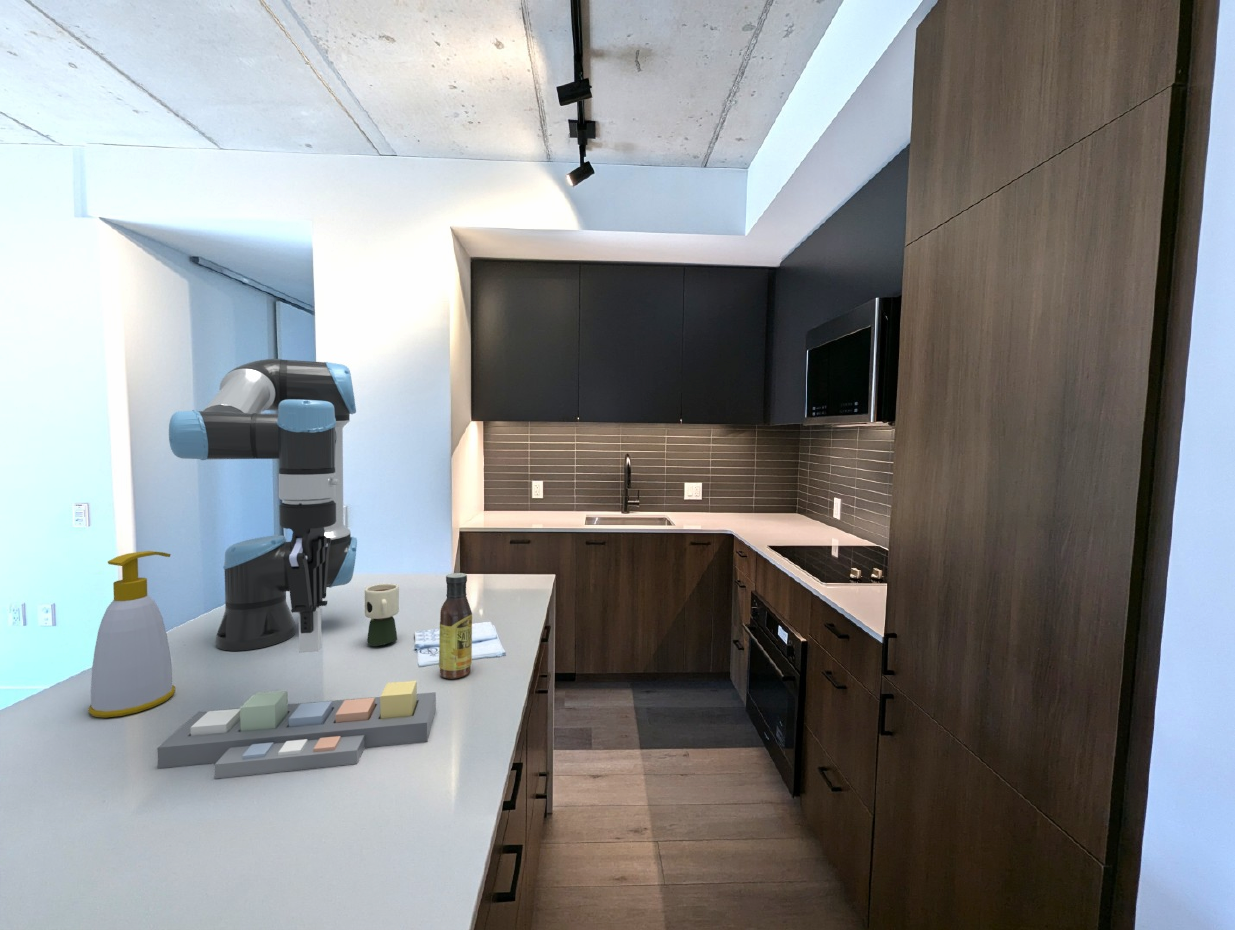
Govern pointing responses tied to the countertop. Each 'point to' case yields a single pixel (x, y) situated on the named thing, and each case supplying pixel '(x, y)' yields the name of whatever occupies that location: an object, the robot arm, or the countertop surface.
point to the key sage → (264, 711)
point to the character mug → (381, 613)
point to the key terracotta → (355, 710)
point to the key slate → (311, 714)
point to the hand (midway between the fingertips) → (310, 649)
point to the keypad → (295, 741)
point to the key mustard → (399, 699)
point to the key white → (216, 722)
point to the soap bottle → (130, 648)
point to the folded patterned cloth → (482, 644)
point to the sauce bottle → (455, 629)
